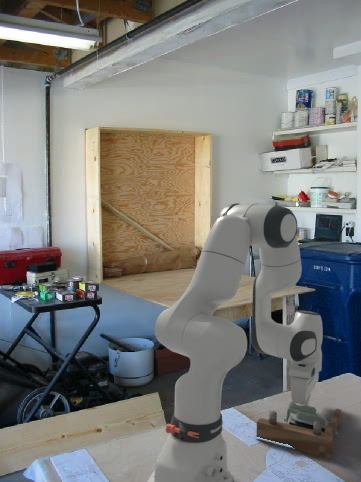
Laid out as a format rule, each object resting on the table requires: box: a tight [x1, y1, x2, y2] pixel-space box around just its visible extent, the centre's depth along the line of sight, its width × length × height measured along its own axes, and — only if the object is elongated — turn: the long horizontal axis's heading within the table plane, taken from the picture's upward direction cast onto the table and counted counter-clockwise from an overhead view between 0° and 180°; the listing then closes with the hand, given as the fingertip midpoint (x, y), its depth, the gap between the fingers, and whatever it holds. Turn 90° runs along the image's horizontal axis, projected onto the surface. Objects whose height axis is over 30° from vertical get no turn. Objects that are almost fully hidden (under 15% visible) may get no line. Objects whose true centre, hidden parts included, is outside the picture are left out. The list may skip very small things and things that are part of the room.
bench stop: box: [255, 408, 342, 459], centre depth 142 cm, size 22×20×8 cm
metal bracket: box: [282, 400, 339, 435], centre depth 148 cm, size 14×6×15 cm
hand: (305, 406), depth 154 cm, fingers closed
